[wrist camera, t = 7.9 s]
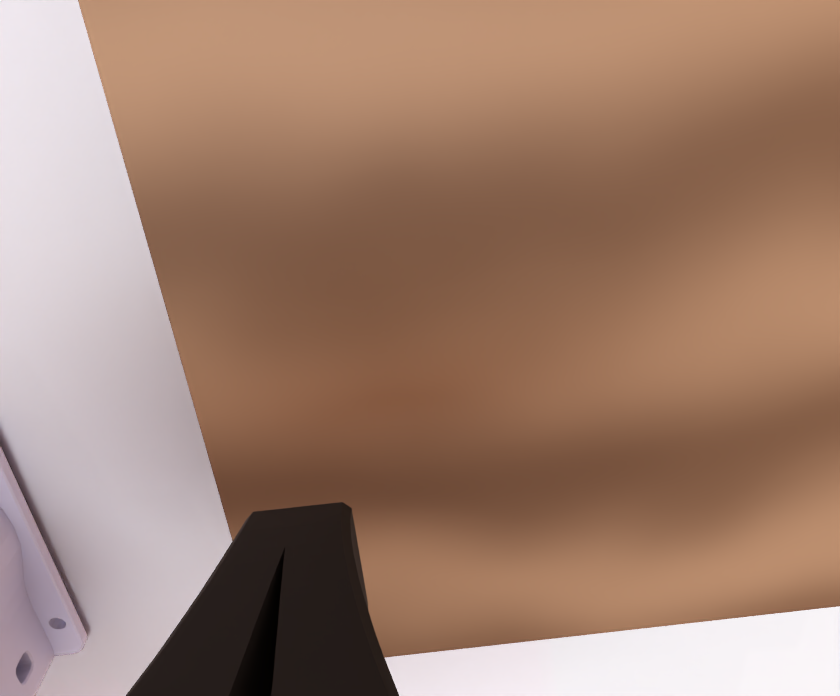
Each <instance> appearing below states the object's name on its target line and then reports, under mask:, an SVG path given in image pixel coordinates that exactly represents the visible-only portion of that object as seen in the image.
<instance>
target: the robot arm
mask: <svg viewBox="0 0 840 696" xmlns="http://www.w3.org/2000/svg"><path fill="white" fill-rule="evenodd" d="M59 618H60V619H59ZM86 640H87V634H86V631H85V629H84V627H83V625H82V623H81V620H80V618H79V616H78V614H77V612H76V610H75V607H74V605H73V603H72V601H71V599H70V596H69V594H68V592H67V590H66V588H65V586H64V583H63V581H62V579H61V577H60V575H59V573H58V570H57V568H56V566H55V564H54V562H53V559H52V557H51V555H50V553H49V551H48V549H47V546H46V544H45V542H44V540H43V538H42V535H41V533H40V531H39V529H38V527H37V525H36V522H35V520H34V518H33V516H32V514H31V512H30V509H29V507H28V505H27V503H26V501H25V498H24V496H23V494H22V492H21V490H20V488H19V485H18V483H17V481H16V479H15V477H14V474H13V472H12V470H11V468H10V466H9V464H8V461H7V459H6V457H5V455H4V453H3V451H2V448H1V446H0V696H35V695H36V693H37V691H38V689H39V687H40V685H41V683H42V680H43V678H44V676H45V674H46V672H47V670H48V668H49V666H50V664H51V662H52V660H53V658H54V656H58V655H67V654H74V653H77V652H79V651H81V650H82V649H83V647H84V645H85V643H86ZM126 696H399V694H398V692H397V689H396V687H395V684H394V681H393V679H392V676H391V674H390V671H389V669H388V666H387V664H386V661H385V659H384V656H383V653H382V650H381V647H380V645H379V642H378V639H377V636H376V633H375V630H374V627H373V624H372V621H371V618H370V614H369V611H368V600H367V595H366V589H365V583H364V577H363V571H362V565H361V560H360V554H359V548H358V542H357V536H356V530H355V525H354V519H353V513H352V508H351V507H349V506H348V505H346V504H345V503H343V502H338V503H329V504H319V505H310V506H301V507H292V508H283V509H273V510H264V511H255V512H252V513H251V515H250V516H249V517H248V518H247V519H246V521H245V522H244V524H243V525H242V527H241V529H240V530H239V532H238V534H237V535H236V537H235V538H234V540H233V542H232V543H231V545H230V546H229V548H228V550H227V551H226V553H225V554H224V556H223V558H222V559H221V561H220V562H219V564H218V565H217V567H216V569H215V570H214V572H213V573H212V575H211V576H210V578H209V579H208V581H207V582H206V584H205V585H204V587H203V589H202V590H201V592H200V593H199V595H198V596H197V598H196V599H195V601H194V602H193V603H192V605H191V606H190V608H189V609H188V611H187V612H186V614H185V615H184V616H183V618H182V619H181V621H180V622H179V624H178V625H177V627H176V628H175V630H174V631H173V632H172V634H171V635H170V637H169V638H168V640H167V641H166V643H165V644H164V645H163V647H162V648H161V650H160V651H159V652H158V654H157V655H156V657H155V658H154V659H153V661H152V662H151V663H150V665H149V666H148V667H147V669H146V670H145V671H144V672H143V674H142V675H141V676H140V678H139V679H138V680H137V682H136V683H135V684H134V686H133V687H132V688H131V690H130V691H129V692H128V694H127V695H126Z"/></svg>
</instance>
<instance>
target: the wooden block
mask: <svg viewBox="0 0 840 696" xmlns="http://www.w3.org/2000/svg"><path fill="white" fill-rule="evenodd" d="M78 2H79V5H80V9H81V12H82V16H83V19H84V23H85V26H86V30H87V33H88V37H89V40H90V44H91V47H92V51H93V54H94V58H95V61H96V65H97V68H98V72H99V75H100V79H101V82H102V86H103V89H104V93H105V96H106V100H107V103H108V107H109V110H110V114H111V117H112V121H113V124H114V128H115V131H116V135H117V138H118V142H119V145H120V149H121V152H122V155H123V159H124V162H125V166H126V169H127V173H128V176H129V180H130V183H131V187H132V190H133V194H134V197H135V201H136V204H137V208H138V211H139V215H140V218H141V222H142V225H143V229H144V232H145V236H146V239H147V243H148V246H149V250H150V253H151V257H152V260H153V264H154V267H155V271H156V274H157V278H158V281H159V285H160V288H161V292H162V295H163V299H164V302H165V306H166V309H167V313H168V316H169V320H170V323H171V327H172V330H173V334H174V337H175V341H176V344H177V348H178V351H179V355H180V358H181V362H182V365H183V369H184V372H185V376H186V379H187V383H188V386H189V390H190V393H191V397H192V400H193V404H194V407H195V411H196V414H197V418H198V421H199V425H200V428H201V432H202V435H203V439H204V442H205V446H206V449H207V453H208V456H209V460H210V463H211V467H212V470H213V474H214V477H215V481H216V484H217V488H218V491H219V495H220V498H221V502H222V505H223V509H224V512H225V516H226V519H227V523H228V526H229V530H230V533H231V537H232V540H234V538H235V537H236V535H237V534H238V532H239V530H240V529H241V527H242V525H243V524H244V522H245V521H246V519H247V518H248V517H249V516H250V515H251V513H252V512H255V511H264V510H273V509H283V508H292V507H301V506H310V505H319V504H329V503H338V502H343V503H345V504H346V505H348V506H349V507H351V508H352V513H353V519H354V525H355V530H356V536H357V542H358V548H359V554H360V560H361V565H362V571H363V577H364V583H365V589H366V595H367V600H368V611H369V614H370V618H371V621H372V624H373V627H374V630H375V633H376V636H377V639H378V642H379V645H380V647H381V650H382V653H383V656H384V657H392V656H401V655H410V654H419V653H428V652H437V651H446V650H454V649H463V648H472V647H481V646H490V645H499V644H508V643H517V642H525V641H534V640H543V639H552V638H561V637H570V636H579V635H588V634H596V633H605V632H614V631H623V630H632V629H641V628H650V627H659V626H667V625H676V624H685V623H694V622H703V621H712V620H721V619H730V618H738V617H747V616H756V615H765V614H774V613H783V612H792V611H801V610H810V609H818V608H827V607H836V606H840V0H78Z"/></svg>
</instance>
